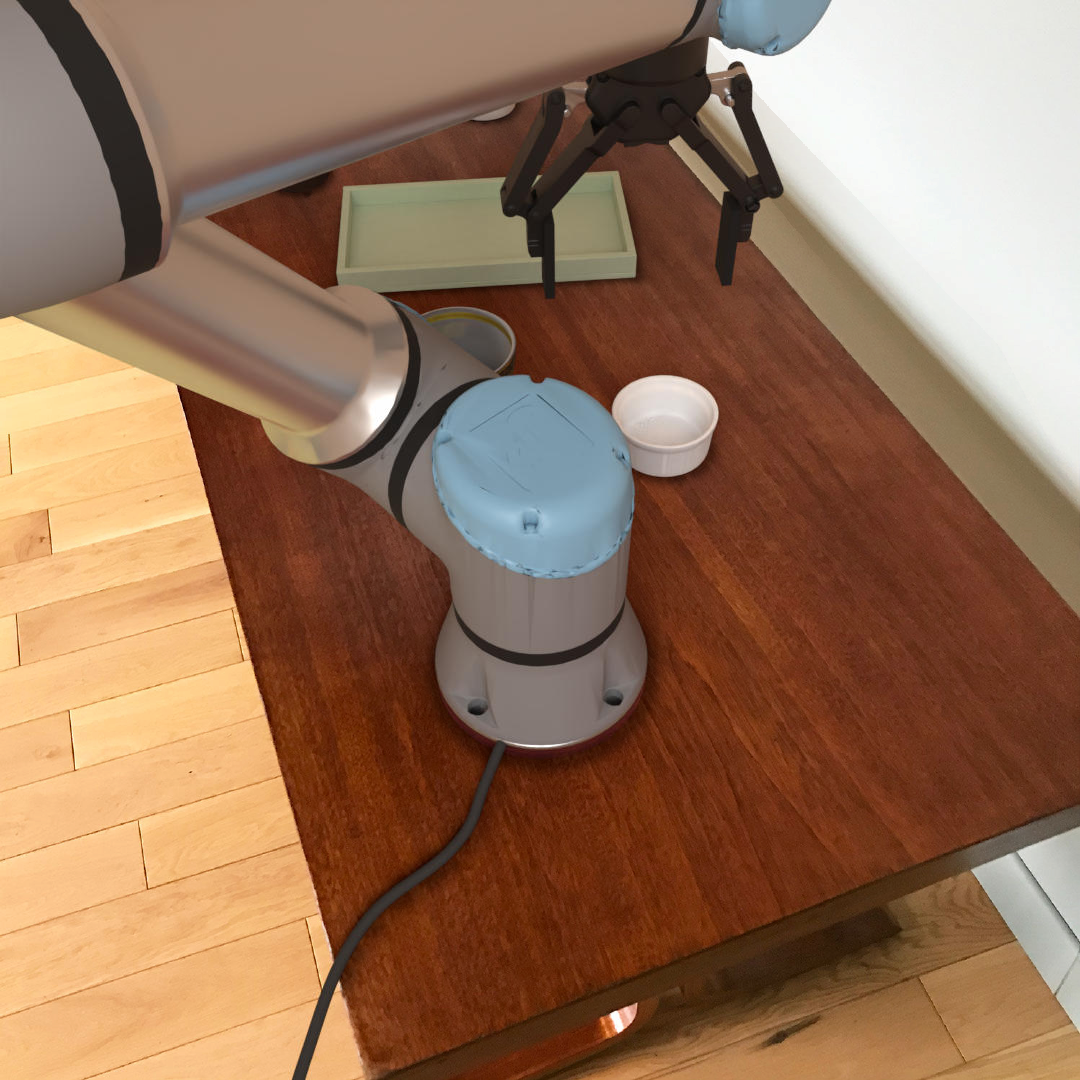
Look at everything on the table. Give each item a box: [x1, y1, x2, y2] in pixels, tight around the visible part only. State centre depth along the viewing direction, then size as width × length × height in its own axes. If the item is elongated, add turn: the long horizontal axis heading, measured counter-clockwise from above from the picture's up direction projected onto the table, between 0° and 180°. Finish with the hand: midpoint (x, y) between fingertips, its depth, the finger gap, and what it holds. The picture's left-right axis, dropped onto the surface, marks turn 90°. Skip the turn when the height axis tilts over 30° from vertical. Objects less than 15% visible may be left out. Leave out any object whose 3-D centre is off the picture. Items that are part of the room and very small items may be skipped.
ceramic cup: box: [420, 306, 517, 377], centre depth 93 cm, size 13×10×10 cm
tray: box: [335, 170, 638, 294], centre depth 116 cm, size 16×30×3 cm, turn 94°
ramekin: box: [611, 374, 719, 478], centre depth 94 cm, size 9×9×4 cm
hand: (636, 282), depth 86 cm, fingers open, 13 cm apart
